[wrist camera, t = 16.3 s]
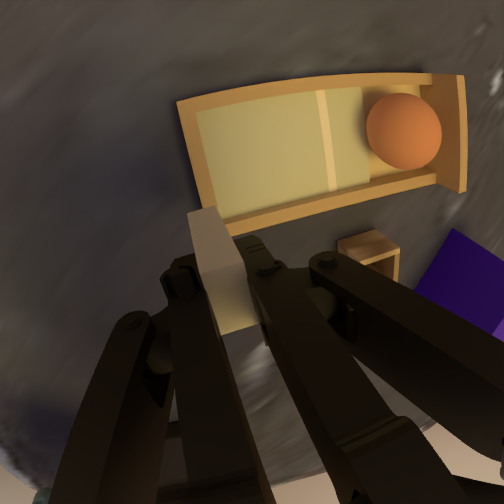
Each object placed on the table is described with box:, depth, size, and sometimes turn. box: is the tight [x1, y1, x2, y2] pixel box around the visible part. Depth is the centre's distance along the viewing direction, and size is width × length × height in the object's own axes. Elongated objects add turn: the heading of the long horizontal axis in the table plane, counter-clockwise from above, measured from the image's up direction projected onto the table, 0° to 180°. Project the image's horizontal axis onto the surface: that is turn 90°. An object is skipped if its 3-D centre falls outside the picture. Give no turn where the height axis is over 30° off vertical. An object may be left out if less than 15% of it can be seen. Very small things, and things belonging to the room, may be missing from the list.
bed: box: [176, 73, 467, 237], centre depth 21 cm, size 22×10×5 cm, turn 100°
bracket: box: [414, 228, 504, 341], centre depth 31 cm, size 18×11×12 cm, turn 61°
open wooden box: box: [337, 229, 400, 282], centre depth 27 cm, size 4×4×4 cm
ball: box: [366, 93, 442, 170], centre depth 21 cm, size 6×6×6 cm
